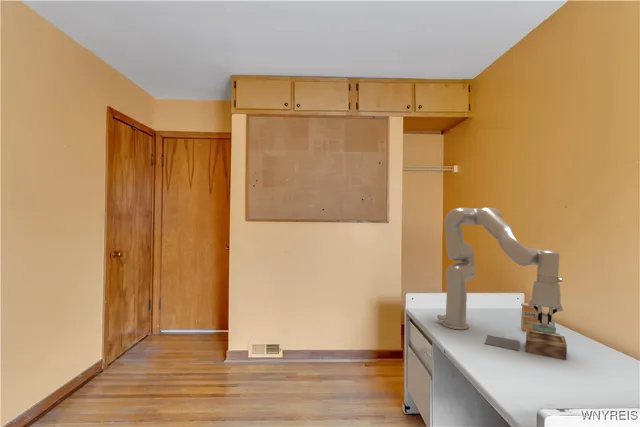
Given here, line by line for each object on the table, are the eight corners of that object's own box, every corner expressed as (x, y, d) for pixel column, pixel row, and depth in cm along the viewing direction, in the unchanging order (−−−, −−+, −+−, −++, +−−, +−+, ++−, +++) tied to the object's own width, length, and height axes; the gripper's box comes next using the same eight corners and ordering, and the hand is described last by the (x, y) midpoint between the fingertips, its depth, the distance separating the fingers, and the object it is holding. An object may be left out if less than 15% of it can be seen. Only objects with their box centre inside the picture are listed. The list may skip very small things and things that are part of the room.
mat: (484, 344, 156) (484, 343, 156) (487, 335, 167) (487, 334, 167) (518, 350, 149) (518, 349, 149) (519, 341, 160) (519, 340, 160)
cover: (532, 325, 156) (533, 310, 156) (555, 329, 152) (556, 314, 152) (532, 330, 149) (533, 315, 149) (556, 335, 145) (557, 319, 144)
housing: (525, 351, 148) (526, 337, 148) (525, 343, 159) (526, 329, 159) (566, 360, 141) (566, 344, 141) (563, 350, 151) (564, 336, 151)
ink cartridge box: (549, 336, 169) (549, 316, 169) (559, 345, 158) (560, 323, 158) (543, 336, 170) (544, 315, 170) (553, 344, 159) (554, 322, 159)
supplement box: (522, 331, 176) (523, 304, 176) (520, 328, 180) (521, 302, 180) (541, 333, 173) (542, 306, 173) (539, 330, 177) (540, 304, 177)
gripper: (569, 281, 149) (566, 324, 149) (525, 275, 157) (522, 317, 158) (571, 284, 143) (567, 329, 143) (525, 278, 151) (522, 321, 151)
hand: (544, 322), depth 150 cm, fingers closed on cover
